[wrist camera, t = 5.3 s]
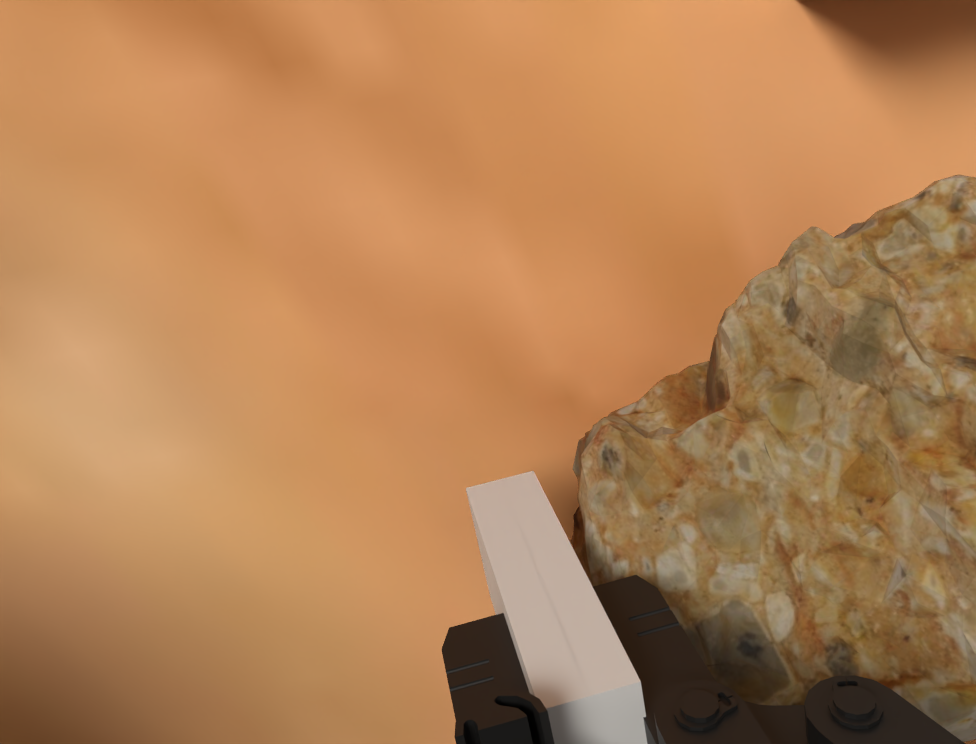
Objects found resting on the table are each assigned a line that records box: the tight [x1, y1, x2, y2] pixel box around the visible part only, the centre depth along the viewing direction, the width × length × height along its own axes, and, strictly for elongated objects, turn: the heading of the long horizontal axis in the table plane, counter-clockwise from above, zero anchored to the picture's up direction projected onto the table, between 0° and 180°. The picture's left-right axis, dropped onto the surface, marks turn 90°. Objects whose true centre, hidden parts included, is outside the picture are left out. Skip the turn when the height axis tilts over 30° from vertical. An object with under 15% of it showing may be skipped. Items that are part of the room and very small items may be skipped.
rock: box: [571, 175, 976, 742], centre depth 17 cm, size 12×10×10 cm
